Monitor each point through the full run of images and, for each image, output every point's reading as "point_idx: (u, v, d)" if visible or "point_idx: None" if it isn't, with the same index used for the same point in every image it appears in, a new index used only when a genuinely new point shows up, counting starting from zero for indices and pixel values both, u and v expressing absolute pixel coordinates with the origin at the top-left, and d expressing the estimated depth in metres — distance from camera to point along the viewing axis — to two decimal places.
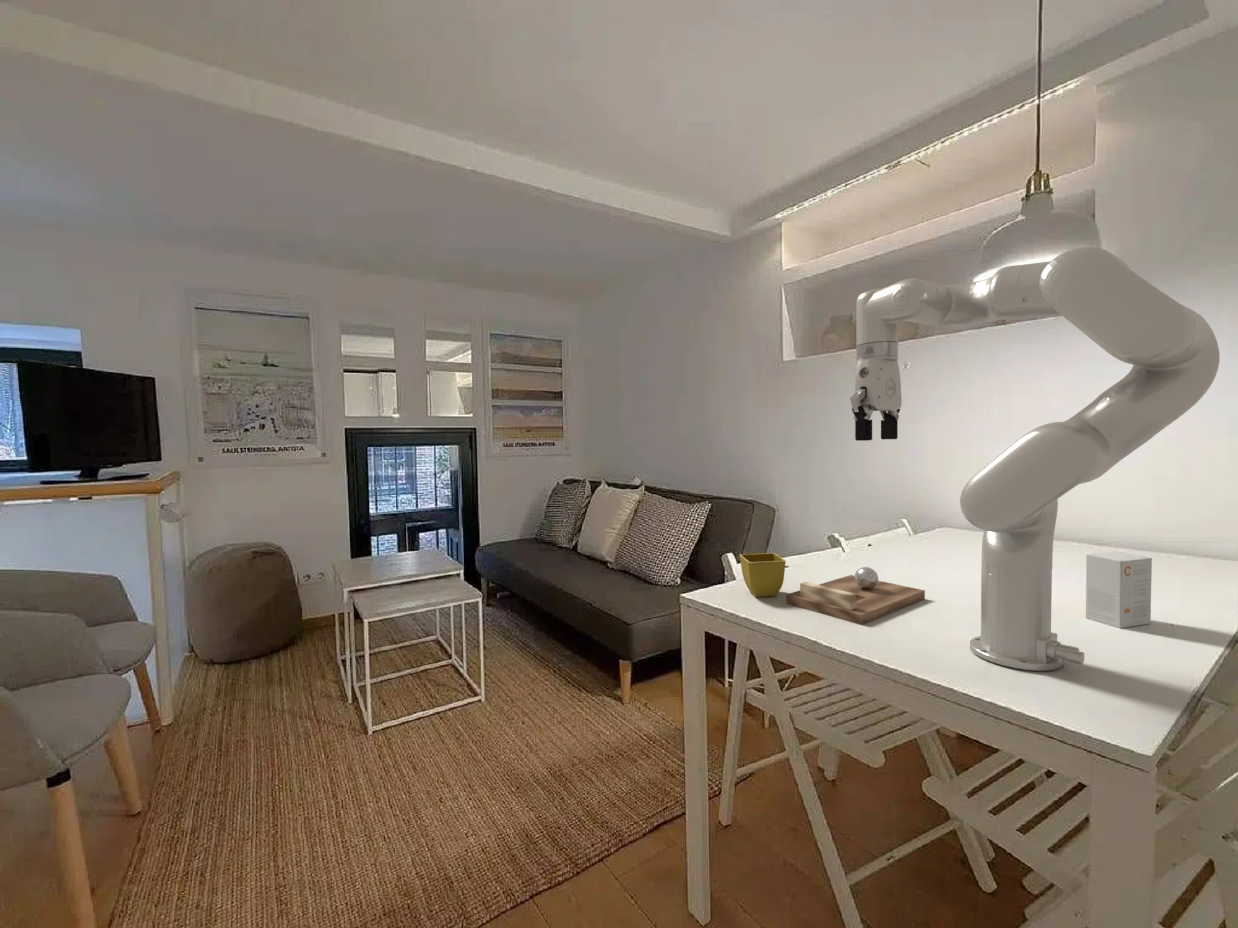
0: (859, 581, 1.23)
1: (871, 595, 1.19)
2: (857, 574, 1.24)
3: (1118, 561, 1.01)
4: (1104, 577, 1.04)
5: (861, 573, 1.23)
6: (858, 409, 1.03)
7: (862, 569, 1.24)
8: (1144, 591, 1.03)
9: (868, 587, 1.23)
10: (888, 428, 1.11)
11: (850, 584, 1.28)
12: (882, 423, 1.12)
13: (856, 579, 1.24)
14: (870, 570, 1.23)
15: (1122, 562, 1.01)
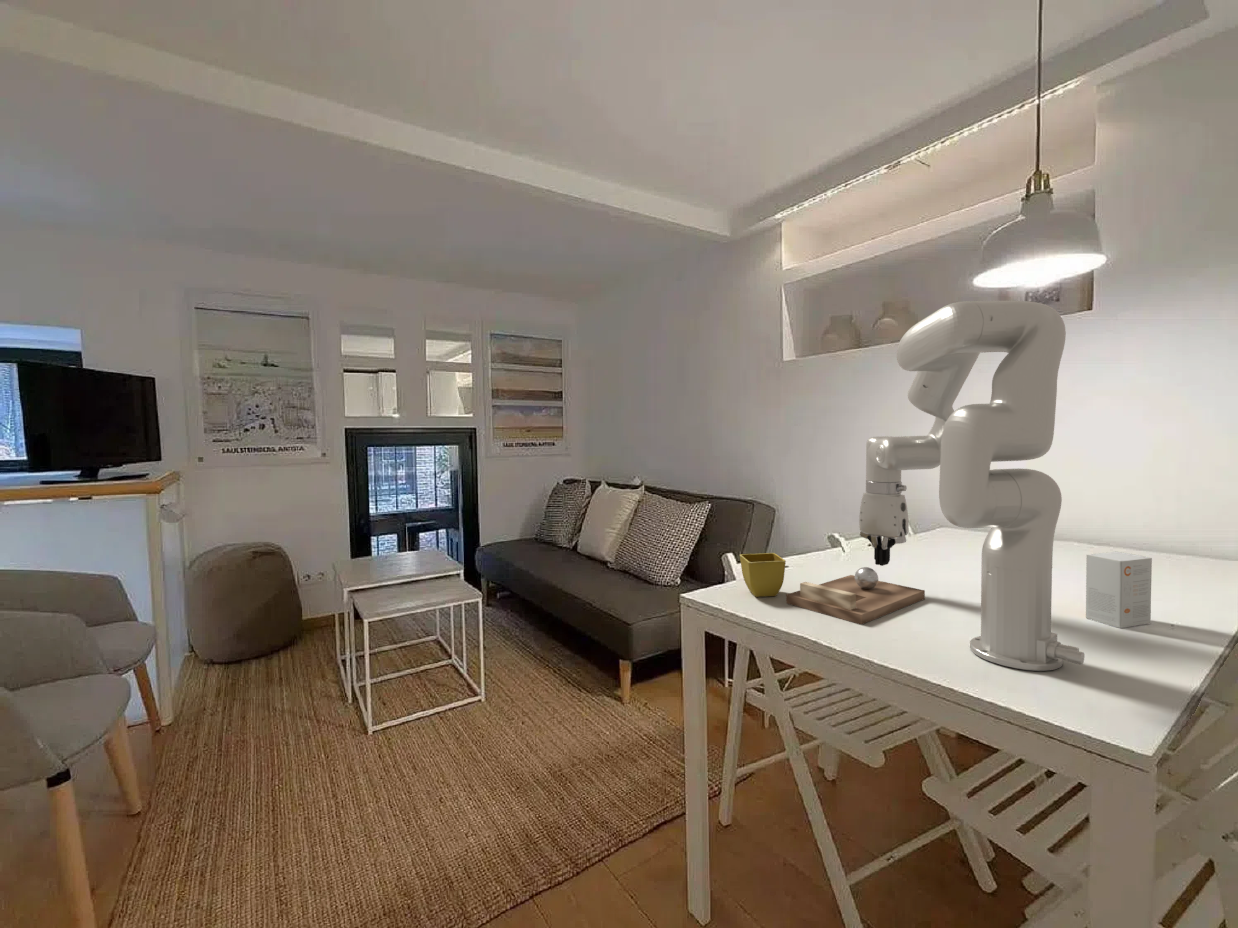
0: (859, 581, 1.23)
1: (871, 595, 1.19)
2: (857, 574, 1.24)
3: (1118, 561, 1.01)
4: (1104, 577, 1.04)
5: (861, 573, 1.23)
6: None
7: (862, 569, 1.24)
8: (1144, 591, 1.03)
9: (868, 587, 1.23)
10: None
11: (850, 584, 1.28)
12: (879, 551, 1.28)
13: (856, 579, 1.24)
14: (870, 570, 1.23)
15: (1122, 562, 1.01)
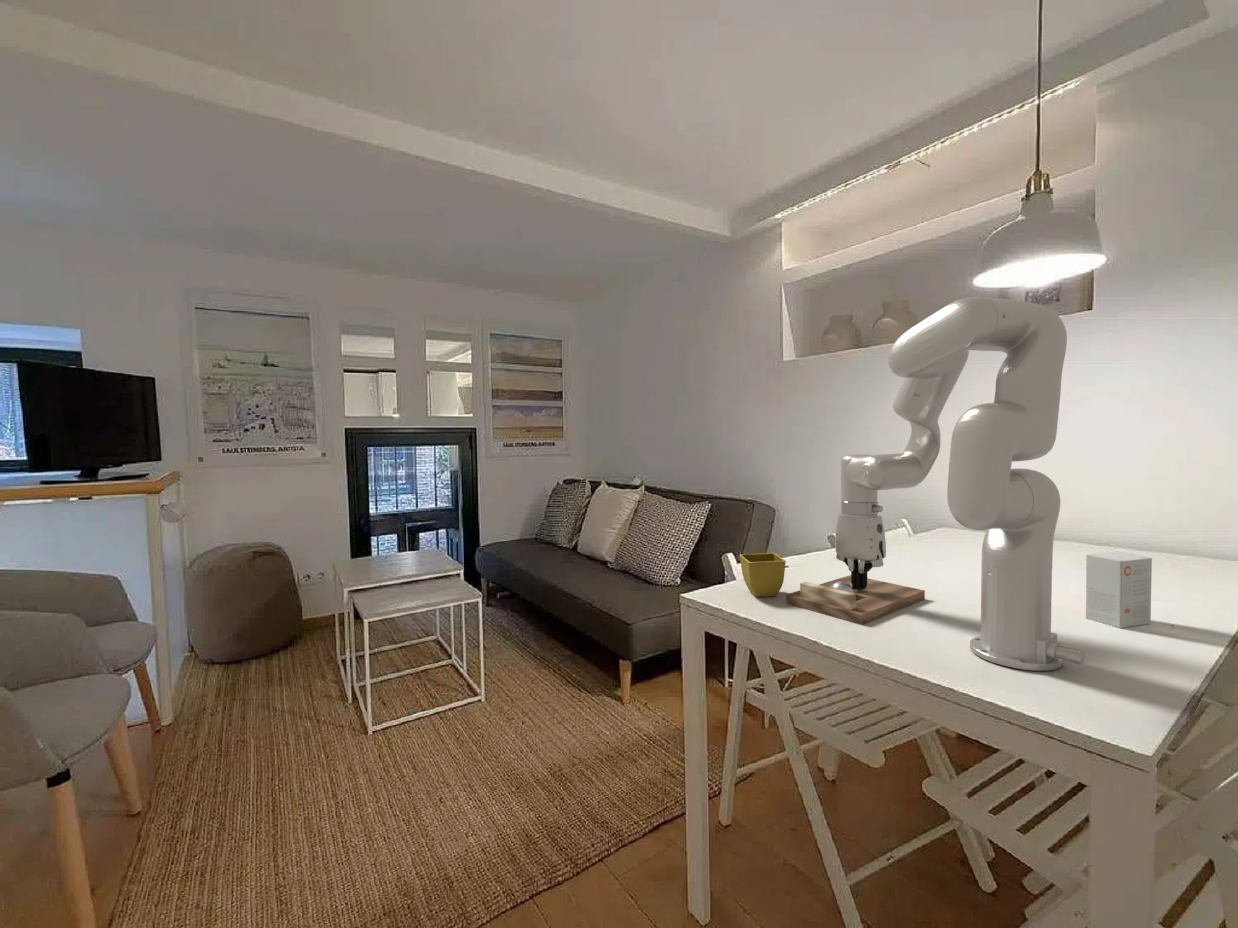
0: None
1: (871, 595, 1.19)
2: None
3: (1118, 561, 1.01)
4: (1104, 577, 1.04)
5: None
6: None
7: None
8: (1144, 591, 1.03)
9: (847, 585, 1.19)
10: None
11: (850, 584, 1.28)
12: (856, 575, 1.22)
13: None
14: None
15: (1122, 562, 1.01)
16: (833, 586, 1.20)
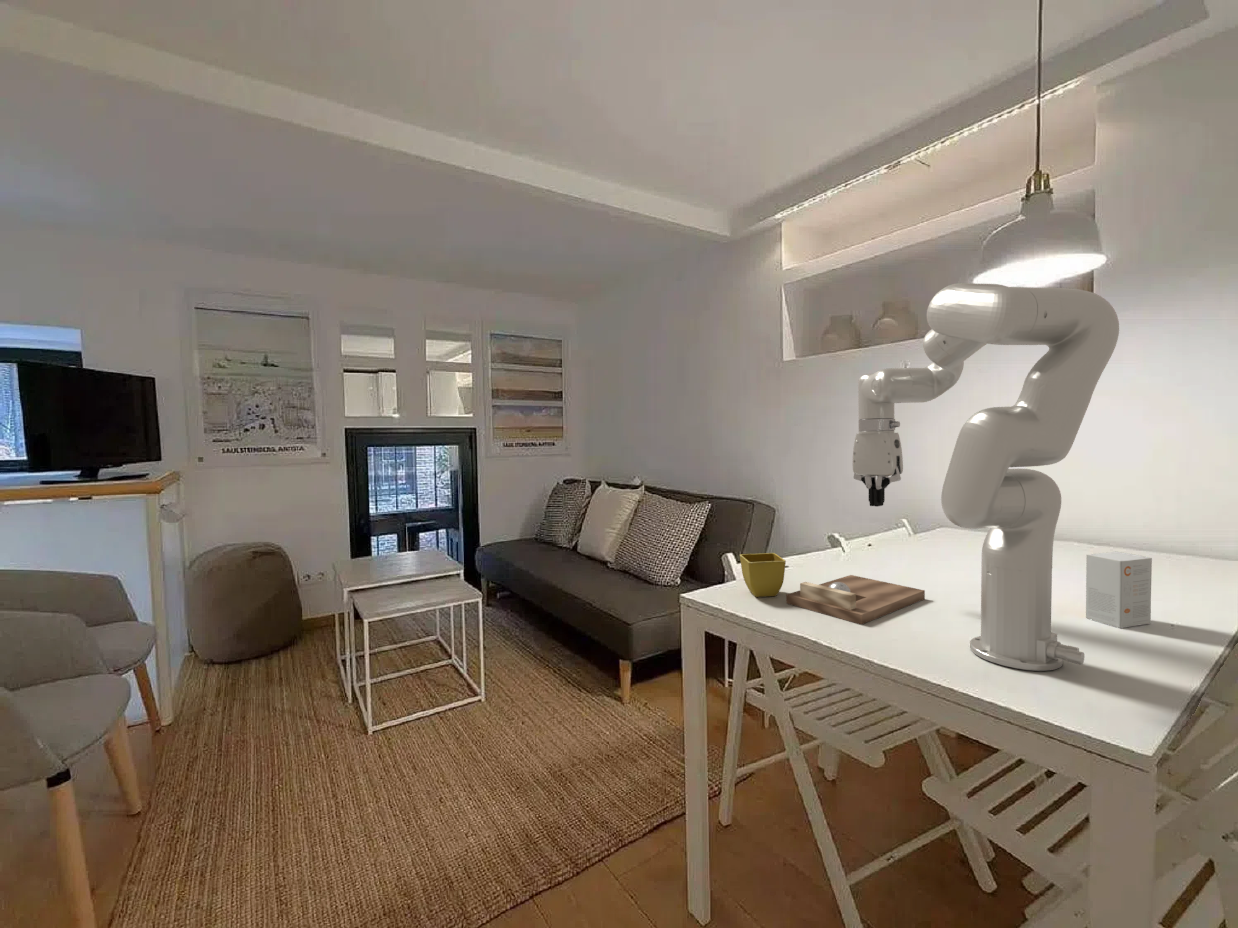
0: (840, 582, 1.20)
1: (871, 595, 1.19)
2: None
3: (1118, 561, 1.01)
4: (1104, 577, 1.04)
5: None
6: (890, 481, 1.23)
7: None
8: (1144, 591, 1.03)
9: (842, 586, 1.18)
10: None
11: (850, 584, 1.28)
12: (873, 492, 1.25)
13: None
14: None
15: (1122, 562, 1.01)
16: None
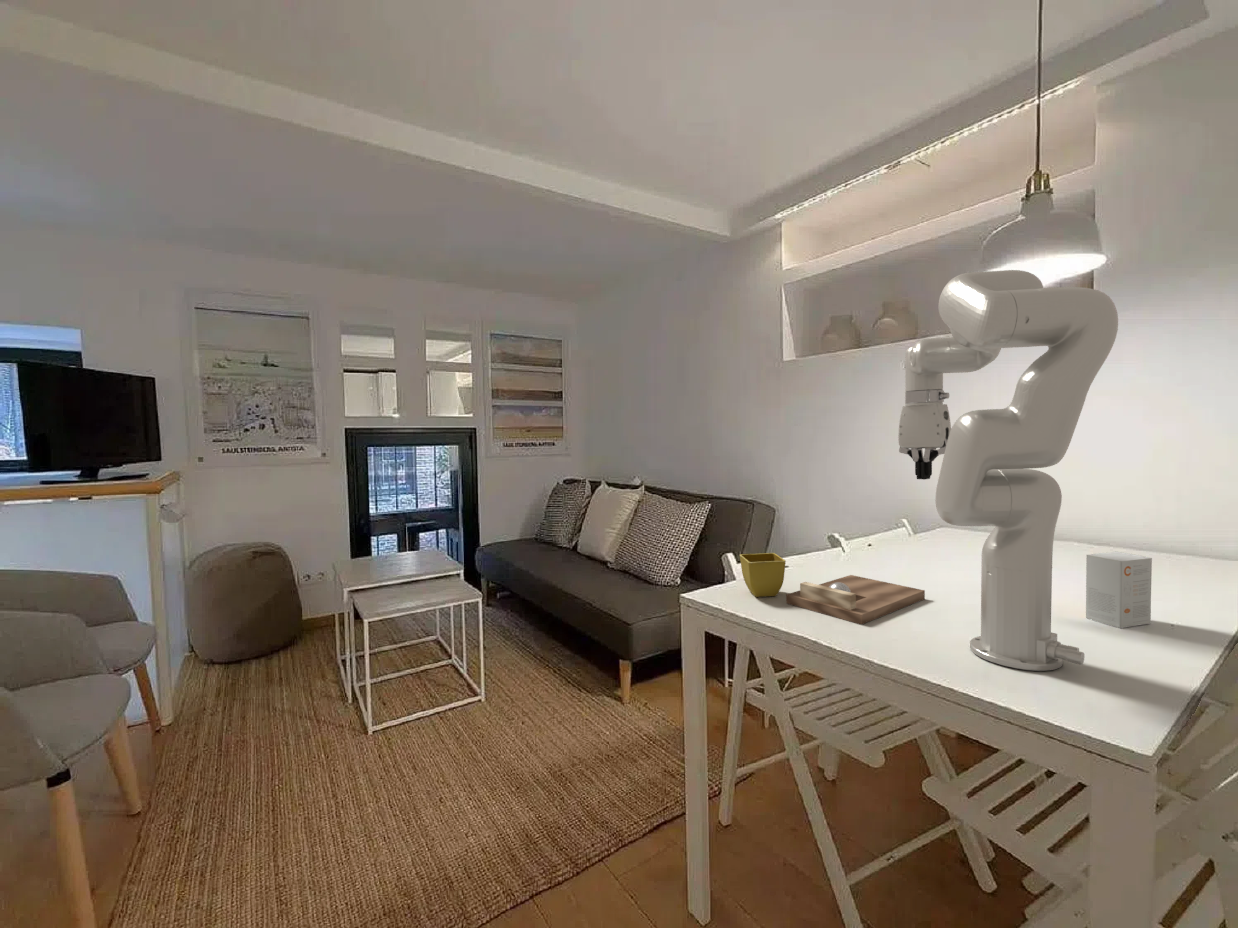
0: None
1: (871, 595, 1.19)
2: None
3: (1118, 561, 1.01)
4: (1104, 577, 1.04)
5: None
6: None
7: None
8: (1144, 591, 1.03)
9: (843, 588, 1.18)
10: None
11: (850, 584, 1.28)
12: (920, 464, 1.24)
13: None
14: None
15: (1122, 562, 1.01)
16: None
